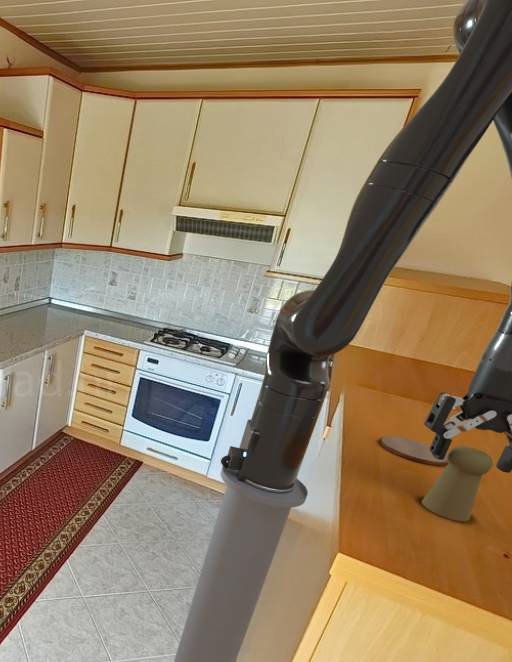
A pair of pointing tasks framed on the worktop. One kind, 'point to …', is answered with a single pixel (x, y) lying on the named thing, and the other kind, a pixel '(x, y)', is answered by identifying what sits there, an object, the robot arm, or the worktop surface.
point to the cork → (458, 483)
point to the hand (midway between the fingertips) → (469, 463)
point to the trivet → (411, 450)
